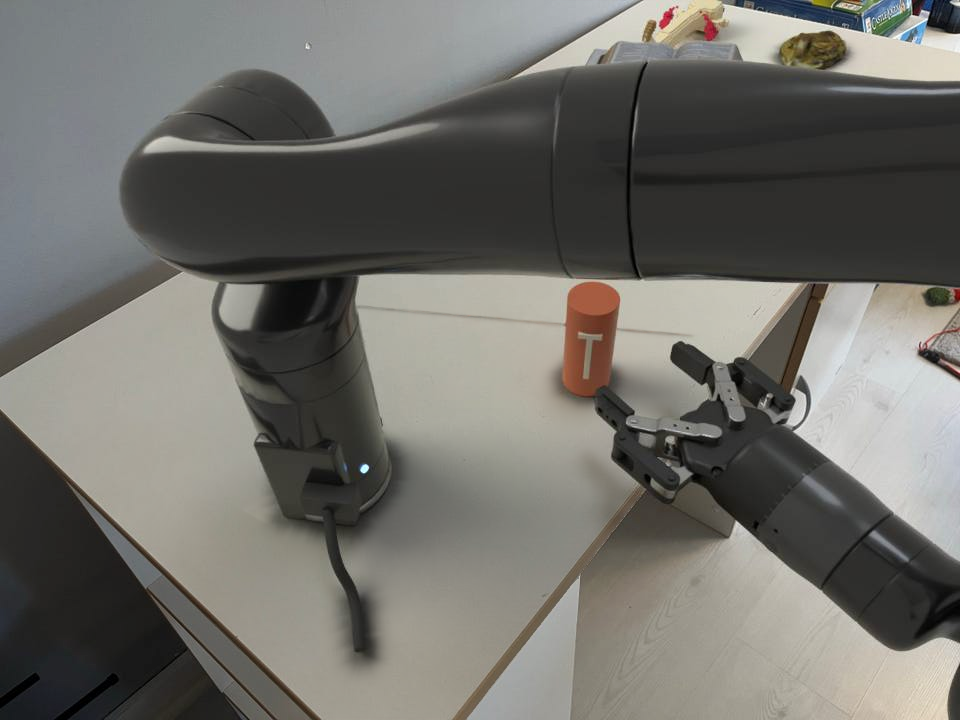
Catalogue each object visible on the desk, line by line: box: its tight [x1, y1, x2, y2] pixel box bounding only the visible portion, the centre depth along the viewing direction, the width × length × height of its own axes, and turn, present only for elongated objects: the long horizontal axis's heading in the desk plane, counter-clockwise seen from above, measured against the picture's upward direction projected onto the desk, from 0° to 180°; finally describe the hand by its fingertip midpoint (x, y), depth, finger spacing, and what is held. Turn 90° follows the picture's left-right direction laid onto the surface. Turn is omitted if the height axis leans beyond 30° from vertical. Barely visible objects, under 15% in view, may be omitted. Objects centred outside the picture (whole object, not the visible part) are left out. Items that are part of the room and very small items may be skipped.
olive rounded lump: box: [778, 30, 847, 70], centre depth 114 cm, size 9×5×15 cm
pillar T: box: [561, 281, 621, 398], centre depth 64 cm, size 4×4×10 cm
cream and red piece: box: [641, 0, 730, 49], centre depth 116 cm, size 10×9×25 cm
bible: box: [585, 40, 744, 65], centre depth 97 cm, size 23×27×10 cm
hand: (636, 371), depth 59 cm, fingers open, 8 cm apart
